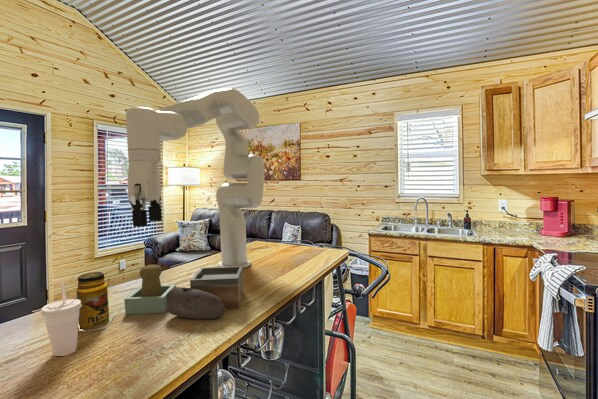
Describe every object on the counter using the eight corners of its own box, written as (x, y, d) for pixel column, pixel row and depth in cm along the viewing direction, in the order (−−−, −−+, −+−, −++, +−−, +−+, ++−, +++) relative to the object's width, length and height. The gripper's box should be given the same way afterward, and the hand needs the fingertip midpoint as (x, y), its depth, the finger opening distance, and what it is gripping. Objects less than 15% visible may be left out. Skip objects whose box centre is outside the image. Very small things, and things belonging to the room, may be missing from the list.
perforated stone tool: (230, 316, 78) (229, 288, 78) (218, 326, 73) (217, 296, 73) (178, 309, 82) (177, 283, 82) (164, 318, 77) (163, 291, 77)
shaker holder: (141, 299, 90) (141, 285, 89) (176, 298, 90) (175, 284, 90) (125, 314, 80) (124, 299, 80) (164, 312, 81) (163, 297, 80)
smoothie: (91, 347, 65) (86, 280, 64) (56, 364, 59) (50, 291, 58) (72, 340, 67) (67, 276, 66) (37, 356, 62) (31, 286, 61)
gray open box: (202, 295, 92) (200, 267, 92) (243, 293, 93) (242, 266, 92) (191, 311, 81) (190, 280, 81) (238, 309, 82) (237, 278, 81)
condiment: (105, 329, 72) (101, 278, 72) (62, 334, 71) (58, 281, 70) (115, 315, 80) (112, 268, 79) (77, 320, 78) (73, 271, 77)
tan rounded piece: (155, 311, 82) (152, 269, 81) (134, 309, 83) (132, 268, 82) (169, 302, 87) (167, 262, 87) (149, 300, 89) (147, 262, 88)
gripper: (143, 159, 90) (147, 219, 92) (112, 155, 73) (116, 229, 74) (170, 159, 91) (173, 218, 92) (145, 155, 74) (149, 228, 75)
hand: (148, 223), depth 83 cm, fingers open, 9 cm apart
